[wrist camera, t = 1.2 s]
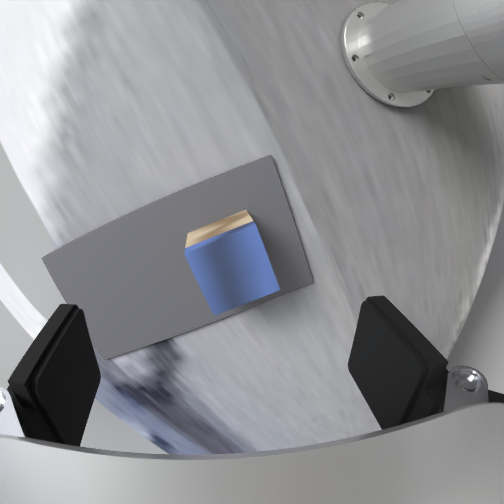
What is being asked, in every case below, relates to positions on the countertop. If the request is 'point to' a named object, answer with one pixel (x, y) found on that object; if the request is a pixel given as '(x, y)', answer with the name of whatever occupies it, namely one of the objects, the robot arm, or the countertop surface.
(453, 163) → the countertop surface
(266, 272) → the cube
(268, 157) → the mat
